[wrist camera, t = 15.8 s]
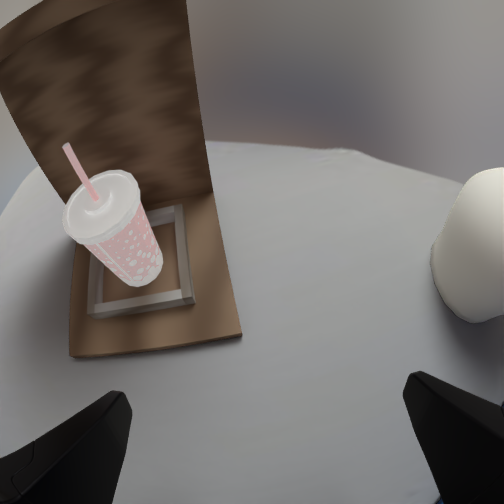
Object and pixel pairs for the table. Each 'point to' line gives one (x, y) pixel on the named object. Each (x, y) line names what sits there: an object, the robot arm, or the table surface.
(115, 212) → the beverage cup
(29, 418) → the table surface
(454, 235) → the vase
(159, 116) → the wooden headphone stand
